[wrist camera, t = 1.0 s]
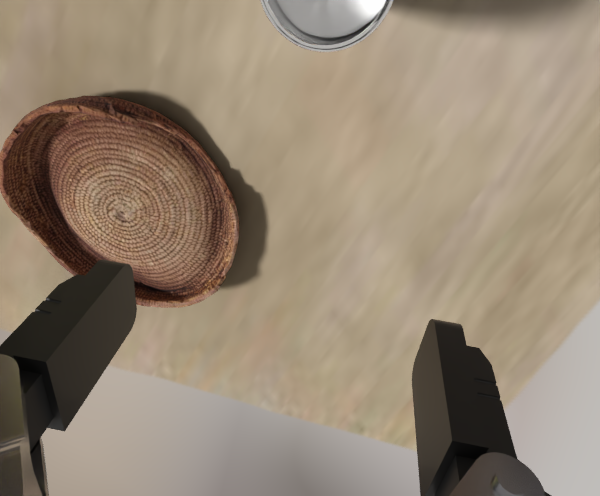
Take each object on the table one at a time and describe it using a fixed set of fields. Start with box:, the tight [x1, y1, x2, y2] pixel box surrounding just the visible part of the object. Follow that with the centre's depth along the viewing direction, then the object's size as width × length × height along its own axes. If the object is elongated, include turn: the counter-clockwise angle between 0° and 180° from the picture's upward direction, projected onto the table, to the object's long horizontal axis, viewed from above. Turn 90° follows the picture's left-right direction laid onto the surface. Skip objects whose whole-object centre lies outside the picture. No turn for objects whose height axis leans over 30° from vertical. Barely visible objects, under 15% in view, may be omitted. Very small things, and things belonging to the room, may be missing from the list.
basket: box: [0, 96, 239, 307], centre depth 44 cm, size 22×20×5 cm
